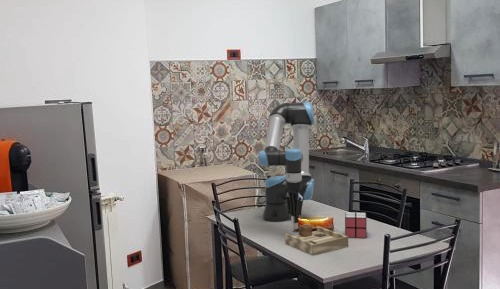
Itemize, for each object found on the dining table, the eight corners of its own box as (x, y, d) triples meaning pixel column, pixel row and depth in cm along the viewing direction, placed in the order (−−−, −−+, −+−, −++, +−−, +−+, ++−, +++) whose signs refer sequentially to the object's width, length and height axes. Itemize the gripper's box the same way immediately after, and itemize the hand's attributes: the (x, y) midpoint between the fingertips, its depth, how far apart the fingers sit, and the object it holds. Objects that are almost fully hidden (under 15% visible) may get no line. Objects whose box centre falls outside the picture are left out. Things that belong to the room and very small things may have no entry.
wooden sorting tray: (285, 243, 236) (285, 233, 236) (318, 235, 247) (318, 226, 246) (313, 255, 218) (313, 245, 218) (348, 246, 229) (348, 236, 228)
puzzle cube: (366, 238, 240) (366, 217, 239) (345, 237, 242) (345, 217, 241) (366, 232, 250) (366, 212, 249) (345, 231, 252) (345, 212, 251)
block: (298, 235, 240) (298, 225, 239) (306, 233, 242) (306, 224, 242) (304, 237, 236) (304, 227, 235) (312, 235, 238) (312, 226, 238)
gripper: (279, 180, 247) (280, 227, 250) (295, 184, 236) (296, 233, 239) (292, 178, 251) (292, 224, 254) (308, 182, 240) (309, 230, 242)
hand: (294, 228), depth 246 cm, fingers closed
